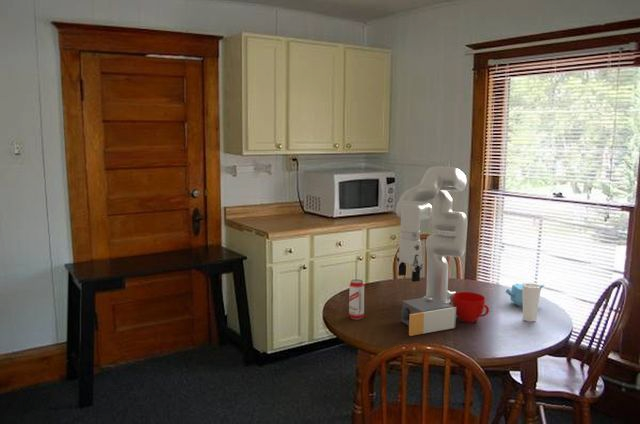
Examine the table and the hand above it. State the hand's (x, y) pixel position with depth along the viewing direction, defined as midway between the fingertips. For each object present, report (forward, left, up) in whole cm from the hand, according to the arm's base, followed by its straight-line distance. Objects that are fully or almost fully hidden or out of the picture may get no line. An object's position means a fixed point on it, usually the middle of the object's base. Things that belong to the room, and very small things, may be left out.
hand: (408, 278), depth 212 cm
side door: (-8, +6, -21) cm, 23 cm away
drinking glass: (-53, +11, -22) cm, 58 cm away
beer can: (+12, -21, -22) cm, 32 cm away
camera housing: (-11, -2, -21) cm, 24 cm away
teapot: (-66, -5, -22) cm, 69 cm away
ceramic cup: (-30, +2, -22) cm, 37 cm away
